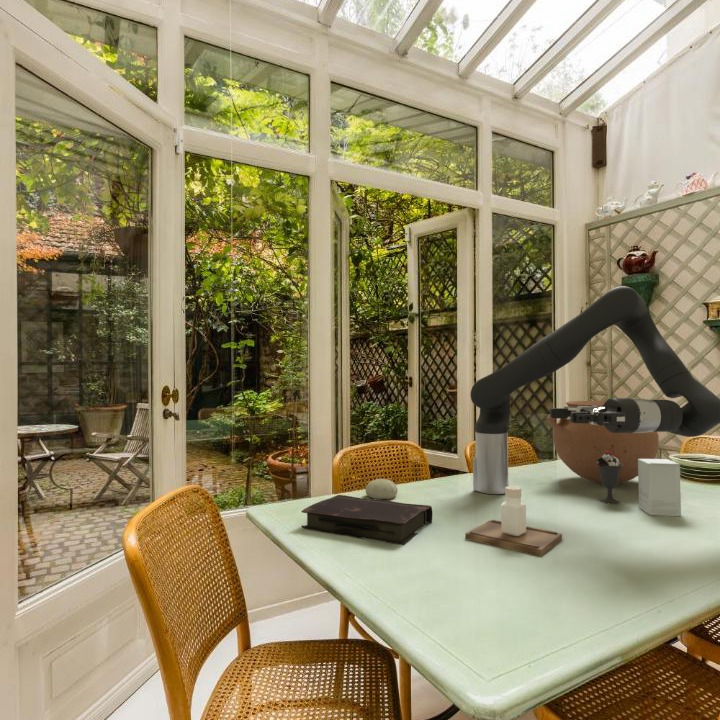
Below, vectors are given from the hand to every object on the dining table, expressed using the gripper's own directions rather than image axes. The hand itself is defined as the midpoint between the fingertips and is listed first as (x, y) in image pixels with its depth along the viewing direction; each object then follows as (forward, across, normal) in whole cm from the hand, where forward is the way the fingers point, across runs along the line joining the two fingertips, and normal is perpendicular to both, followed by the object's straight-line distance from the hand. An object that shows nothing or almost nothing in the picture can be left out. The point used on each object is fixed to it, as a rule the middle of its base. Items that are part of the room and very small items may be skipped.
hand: (560, 415), depth 108 cm
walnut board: (+10, +1, +26) cm, 28 cm away
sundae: (-28, -24, +26) cm, 45 cm away
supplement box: (-34, -14, +26) cm, 45 cm away
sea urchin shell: (+32, -40, +28) cm, 58 cm away
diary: (+39, -14, +28) cm, 50 cm away
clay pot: (-40, -45, +26) cm, 66 cm away
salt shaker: (+10, 0, +25) cm, 27 cm away
